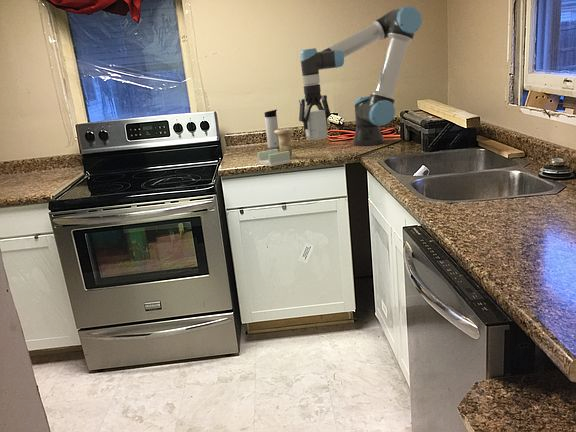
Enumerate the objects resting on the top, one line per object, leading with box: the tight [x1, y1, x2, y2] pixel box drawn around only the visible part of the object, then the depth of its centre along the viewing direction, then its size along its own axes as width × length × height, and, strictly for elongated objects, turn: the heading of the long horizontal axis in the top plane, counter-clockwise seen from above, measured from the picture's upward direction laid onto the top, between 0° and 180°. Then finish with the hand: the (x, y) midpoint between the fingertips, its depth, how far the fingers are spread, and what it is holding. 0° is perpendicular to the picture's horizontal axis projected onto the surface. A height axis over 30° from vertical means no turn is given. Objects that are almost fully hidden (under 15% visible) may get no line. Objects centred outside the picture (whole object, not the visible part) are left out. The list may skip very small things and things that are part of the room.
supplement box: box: [305, 109, 329, 141], centre depth 239 cm, size 7×7×13 cm
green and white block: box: [256, 148, 291, 167], centre depth 234 cm, size 10×12×5 cm
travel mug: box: [264, 109, 280, 150], centre depth 271 cm, size 6×7×20 cm
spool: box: [274, 128, 297, 160], centre depth 242 cm, size 9×9×13 cm
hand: (316, 134), depth 240 cm, fingers closed on supplement box, 9 cm apart
